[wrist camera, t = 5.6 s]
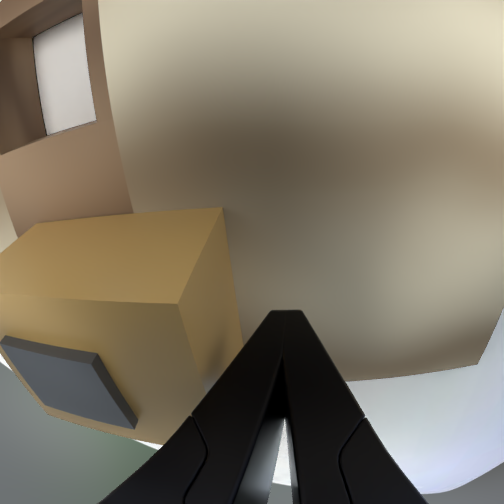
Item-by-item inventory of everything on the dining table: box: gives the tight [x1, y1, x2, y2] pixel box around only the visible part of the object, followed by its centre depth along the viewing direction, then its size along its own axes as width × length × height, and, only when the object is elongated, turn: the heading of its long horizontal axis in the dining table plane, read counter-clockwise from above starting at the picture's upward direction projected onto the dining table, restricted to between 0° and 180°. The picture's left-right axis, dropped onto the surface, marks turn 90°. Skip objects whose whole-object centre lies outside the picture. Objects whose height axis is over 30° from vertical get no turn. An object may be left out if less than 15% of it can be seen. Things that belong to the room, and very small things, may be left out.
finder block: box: [0, 207, 244, 445], centre depth 8 cm, size 5×6×4 cm
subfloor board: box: [0, 0, 504, 381], centre depth 9 cm, size 14×20×2 cm
